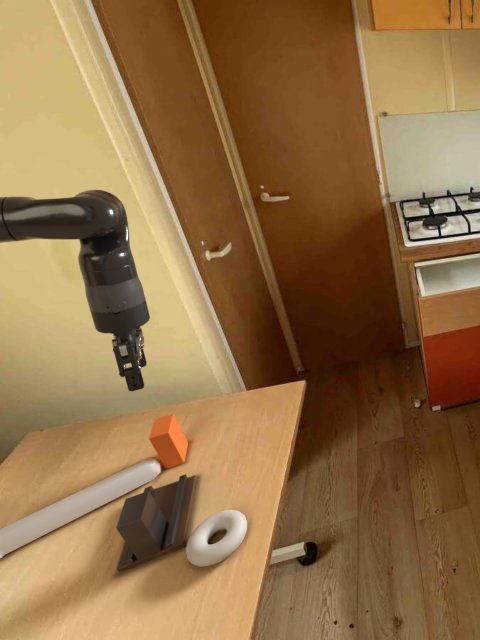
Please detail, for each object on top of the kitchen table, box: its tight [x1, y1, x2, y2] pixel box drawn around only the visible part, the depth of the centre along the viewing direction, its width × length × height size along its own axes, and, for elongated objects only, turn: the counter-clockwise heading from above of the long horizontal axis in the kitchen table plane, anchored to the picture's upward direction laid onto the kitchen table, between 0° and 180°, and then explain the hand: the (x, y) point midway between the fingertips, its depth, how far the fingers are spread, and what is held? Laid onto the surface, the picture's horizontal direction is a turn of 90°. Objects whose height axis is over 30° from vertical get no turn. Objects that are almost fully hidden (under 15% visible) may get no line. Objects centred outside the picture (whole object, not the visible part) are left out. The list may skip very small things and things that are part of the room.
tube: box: [0, 457, 162, 559], centre depth 87 cm, size 5×5×25 cm
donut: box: [185, 509, 248, 568], centre depth 81 cm, size 10×3×10 cm
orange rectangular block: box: [148, 413, 189, 470], centre depth 97 cm, size 4×6×10 cm, turn 27°
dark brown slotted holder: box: [115, 473, 198, 574], centre depth 83 cm, size 10×16×11 cm, turn 27°
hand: (138, 377), depth 81 cm, fingers open, 8 cm apart
